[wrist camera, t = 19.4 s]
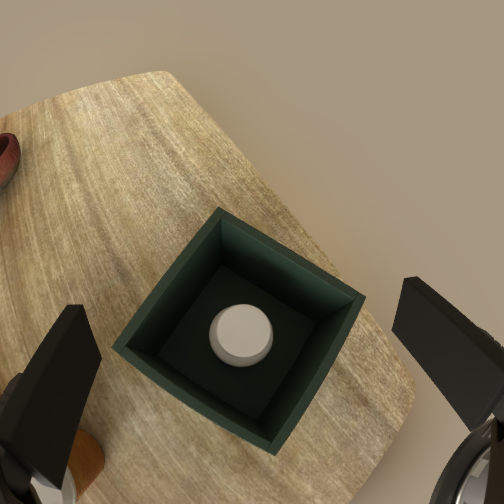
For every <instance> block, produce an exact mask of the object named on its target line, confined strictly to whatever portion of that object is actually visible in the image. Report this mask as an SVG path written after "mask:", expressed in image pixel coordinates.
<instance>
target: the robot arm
mask: <svg viewBox="0 0 504 504" xmlns="http://www.w3.org/2000/svg"><path fill="white" fill-rule="evenodd" d="M392 332H393V333H394V334H395V335H396V336H397V338H398V339H399V340H400V341H401V342H402V344H403V345H404V346H405V347H406V348H407V350H408V351H409V352H410V353H411V355H412V356H413V357H414V358H415V359H416V361H417V362H418V363H419V365H420V366H421V367H422V368H423V370H424V371H425V372H426V373H427V374H428V376H429V377H430V378H431V380H432V381H433V382H434V384H435V385H436V386H437V387H438V389H439V390H440V391H441V393H442V394H443V395H444V396H445V398H446V399H447V401H448V402H449V403H450V405H451V406H452V407H453V409H454V410H455V411H456V412H457V414H458V415H459V417H460V418H461V419H462V421H463V422H464V423H465V425H466V426H467V427H468V429H469V431H470V432H471V431H473V430H475V429H476V428H478V427H479V426H481V425H482V424H484V423H485V421H486V420H487V418H488V417H489V416H490V414H491V413H493V414H494V416H495V417H494V419H493V420H492V421H491V423H490V424H489V425H488V426H487V428H486V429H485V430H484V432H483V433H482V437H484V436H485V435H486V434H487V433H488V432H489V430H490V429H491V432H490V433H489V435H488V436H487V438H491V443H490V444H488V445H487V446H485V447H484V448H483V449H482V450H481V451H480V452H479V453H478V454H477V455H476V456H475V458H474V459H473V460H472V461H471V463H470V464H469V466H468V467H467V469H466V470H465V472H464V474H463V476H462V477H461V479H460V481H459V483H458V486H457V488H456V491H455V493H454V497H453V500H452V504H504V347H503V346H502V347H501V344H500V343H498V342H497V341H496V340H494V338H493V337H492V336H491V335H490V334H489V333H488V332H486V331H485V330H483V329H481V328H479V327H477V326H476V325H475V324H474V323H473V322H471V321H470V320H469V319H468V318H467V317H466V316H465V315H463V314H462V313H461V312H460V311H459V310H458V309H456V308H455V307H454V306H453V305H452V304H451V303H449V302H448V301H447V300H446V299H445V298H443V297H442V296H441V295H440V294H438V293H437V292H436V291H435V290H434V289H432V288H431V287H430V286H429V285H427V284H426V283H425V282H424V281H422V280H421V279H420V278H419V277H409V278H404V281H403V285H402V290H401V295H400V299H399V303H398V308H397V311H396V315H395V320H394V323H393V327H392ZM101 360H102V357H101V354H100V352H99V349H98V347H97V344H96V341H95V338H94V336H93V333H92V330H91V327H90V324H89V321H88V319H87V315H86V312H85V309H84V306H83V304H79V305H67V306H66V307H65V309H64V310H63V311H62V313H61V314H60V316H59V317H58V319H57V320H56V322H55V323H54V324H53V326H52V327H51V329H50V330H49V332H48V333H47V335H46V336H45V338H44V340H43V341H42V343H41V344H40V346H39V347H38V349H37V351H36V352H35V354H34V355H33V357H32V359H31V360H30V362H29V364H28V365H27V367H26V369H25V370H24V372H23V373H18V374H17V375H16V376H15V377H14V378H13V379H12V380H11V381H10V382H9V383H8V385H7V387H6V389H5V390H4V395H3V394H2V396H1V398H0V504H42V502H41V500H40V498H39V496H38V494H37V492H36V489H35V488H34V486H33V485H32V484H31V483H30V482H31V479H32V477H33V478H35V479H36V480H37V481H38V482H39V483H40V484H41V485H44V486H47V487H50V488H53V489H57V490H60V491H61V489H62V484H63V480H64V476H65V472H66V468H67V464H68V460H69V457H70V453H71V449H72V446H73V442H74V439H75V435H76V432H77V429H78V426H79V422H80V419H81V416H82V413H83V410H84V407H85V404H86V401H87V398H88V395H89V392H90V390H91V387H92V384H93V381H94V378H95V376H96V373H97V370H98V368H99V365H100V362H101Z"/></svg>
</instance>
